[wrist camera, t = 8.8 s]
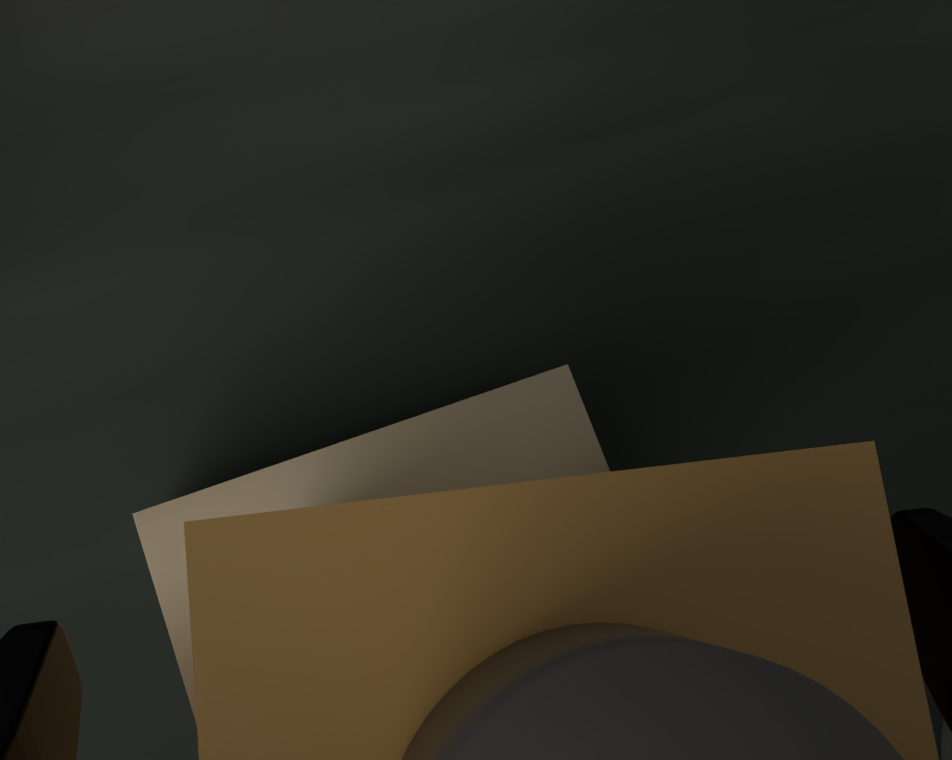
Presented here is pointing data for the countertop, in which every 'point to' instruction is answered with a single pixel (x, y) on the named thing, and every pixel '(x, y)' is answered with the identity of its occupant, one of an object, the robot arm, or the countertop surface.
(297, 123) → the countertop surface
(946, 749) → the white jar
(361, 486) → the beech block
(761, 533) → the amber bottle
